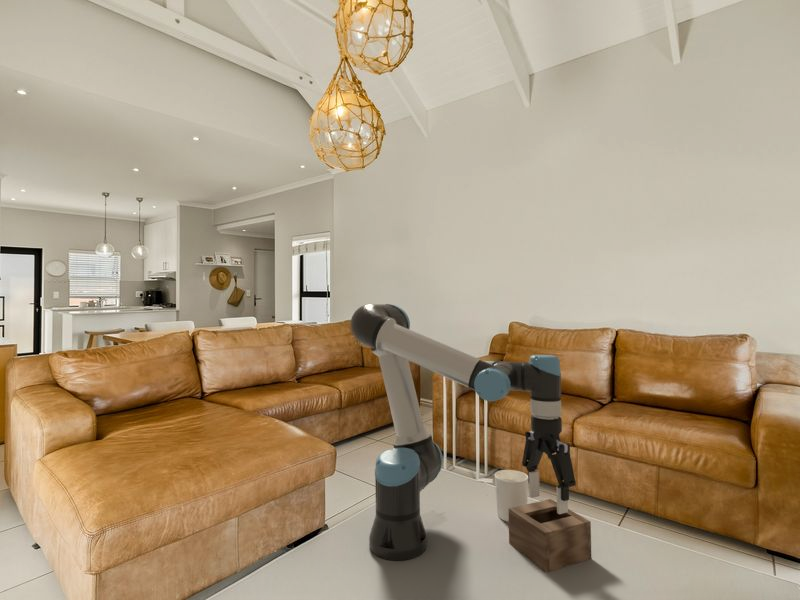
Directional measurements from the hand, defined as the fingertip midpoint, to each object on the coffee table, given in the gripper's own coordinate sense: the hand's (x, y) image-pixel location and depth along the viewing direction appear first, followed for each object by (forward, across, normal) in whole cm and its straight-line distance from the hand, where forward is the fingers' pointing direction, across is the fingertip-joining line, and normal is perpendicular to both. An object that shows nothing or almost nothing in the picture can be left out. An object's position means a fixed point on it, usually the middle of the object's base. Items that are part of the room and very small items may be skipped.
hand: (547, 504), depth 110 cm
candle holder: (+12, +19, -3) cm, 23 cm away
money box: (+12, 0, 0) cm, 12 cm away
